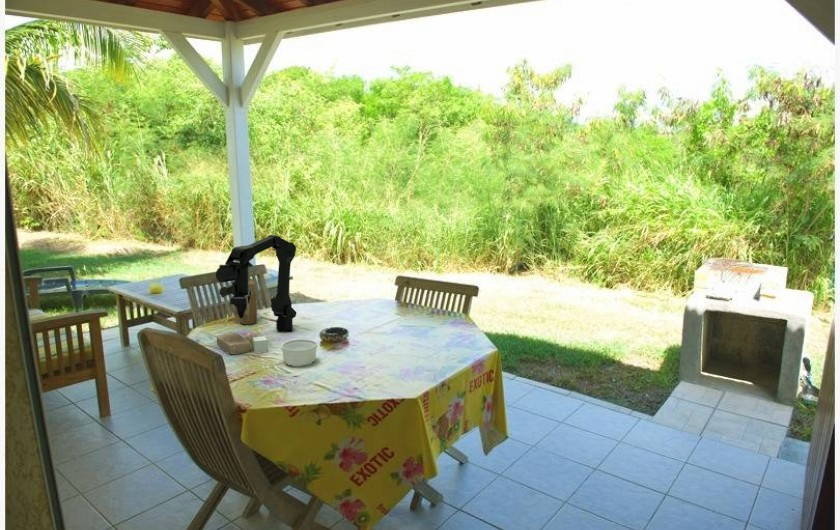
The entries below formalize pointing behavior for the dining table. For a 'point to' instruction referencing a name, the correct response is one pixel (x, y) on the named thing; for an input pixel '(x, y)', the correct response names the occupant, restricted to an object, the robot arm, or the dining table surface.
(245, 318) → the walnut block
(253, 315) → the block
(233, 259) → the robot arm
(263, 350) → the grey block
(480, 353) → the dining table surface
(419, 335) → the dining table surface
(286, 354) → the ramekin
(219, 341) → the brick
